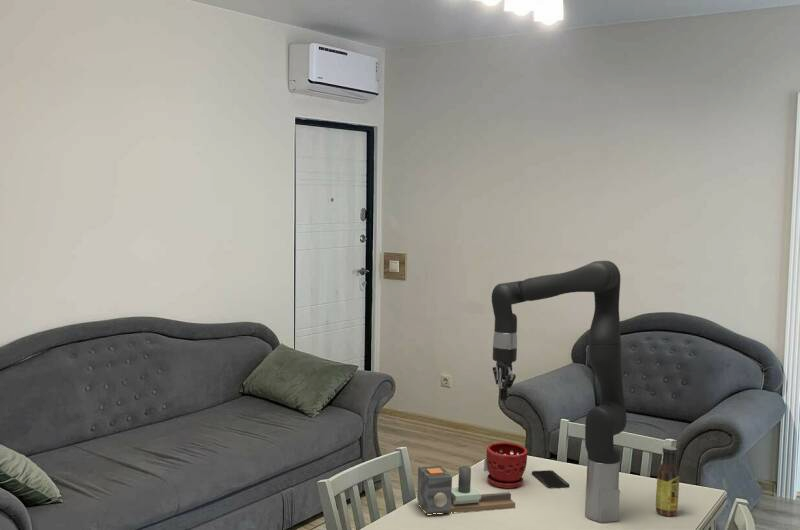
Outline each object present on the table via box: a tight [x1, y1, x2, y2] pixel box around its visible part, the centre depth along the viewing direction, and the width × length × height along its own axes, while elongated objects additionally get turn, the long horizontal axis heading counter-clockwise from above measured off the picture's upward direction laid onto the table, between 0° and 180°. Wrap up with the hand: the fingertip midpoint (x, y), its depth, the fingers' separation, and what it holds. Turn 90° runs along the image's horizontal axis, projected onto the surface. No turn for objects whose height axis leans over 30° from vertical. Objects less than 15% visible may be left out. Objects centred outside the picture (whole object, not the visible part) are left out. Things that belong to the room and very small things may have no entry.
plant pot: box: [485, 442, 528, 489], centre depth 266 cm, size 13×13×12 cm
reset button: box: [426, 468, 444, 475], centre depth 241 cm, size 4×4×3 cm
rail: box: [417, 465, 516, 514], centre depth 244 cm, size 11×28×12 cm, turn 107°
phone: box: [531, 469, 570, 489], centre depth 271 cm, size 8×1×15 cm
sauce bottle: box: [655, 445, 680, 517], centre depth 244 cm, size 7×6×20 cm
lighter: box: [483, 450, 505, 472], centre depth 279 cm, size 7×2×8 cm, turn 101°
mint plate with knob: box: [451, 465, 482, 505], centre depth 244 cm, size 7×8×10 cm
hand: (502, 399), depth 259 cm, fingers closed
